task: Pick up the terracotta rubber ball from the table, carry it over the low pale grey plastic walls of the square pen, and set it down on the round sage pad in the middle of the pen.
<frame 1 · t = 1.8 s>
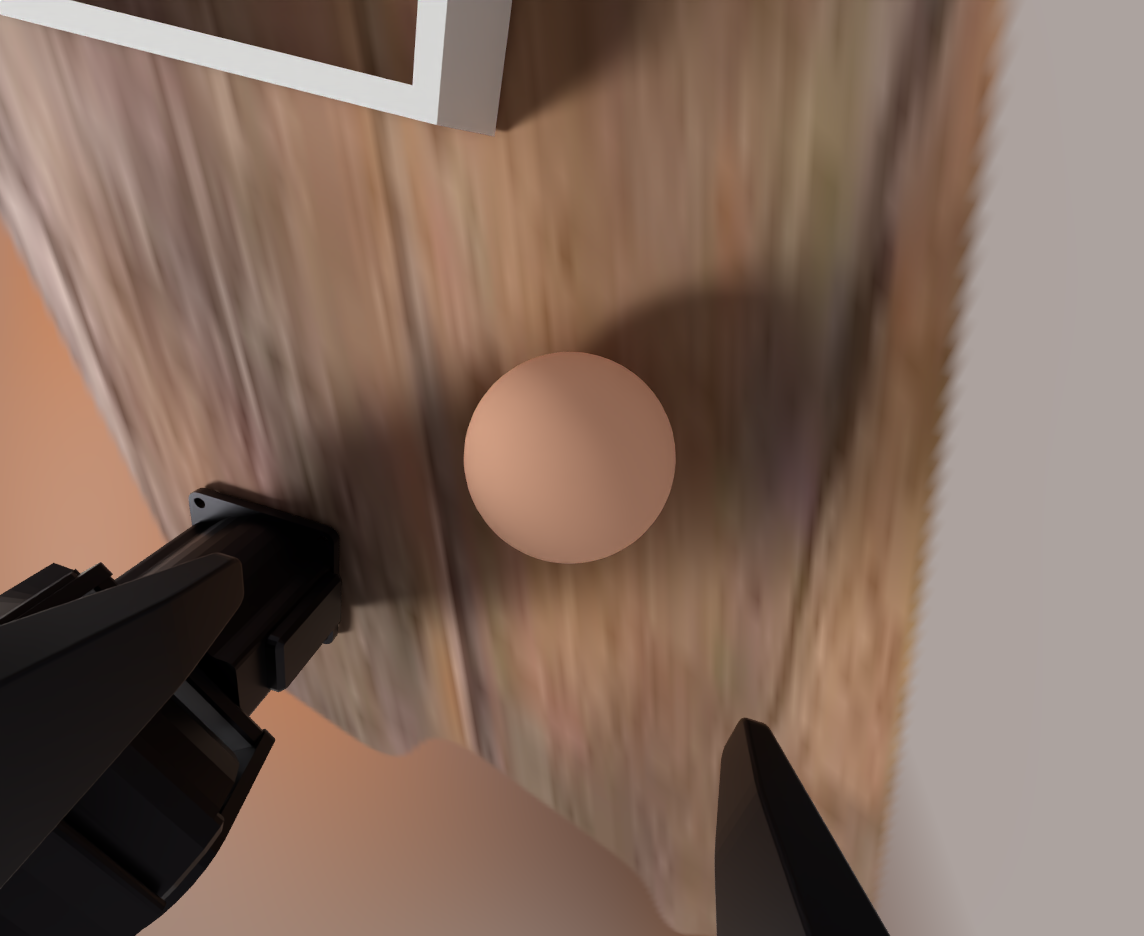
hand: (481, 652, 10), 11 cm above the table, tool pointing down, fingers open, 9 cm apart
ball: (587, 418, 19), on the table
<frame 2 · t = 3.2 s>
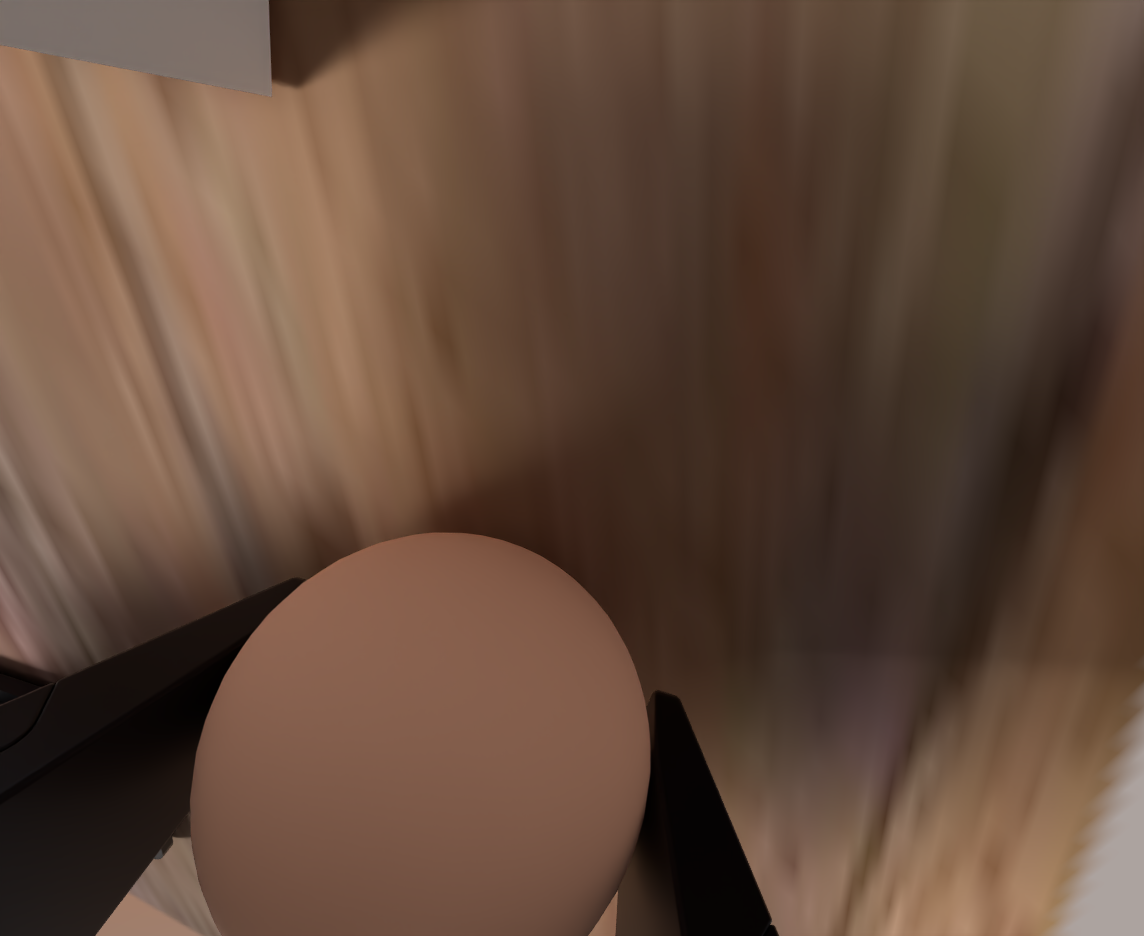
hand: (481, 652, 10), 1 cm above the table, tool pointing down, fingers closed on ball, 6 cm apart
ball: (501, 604, 11), on the table, touching gripper
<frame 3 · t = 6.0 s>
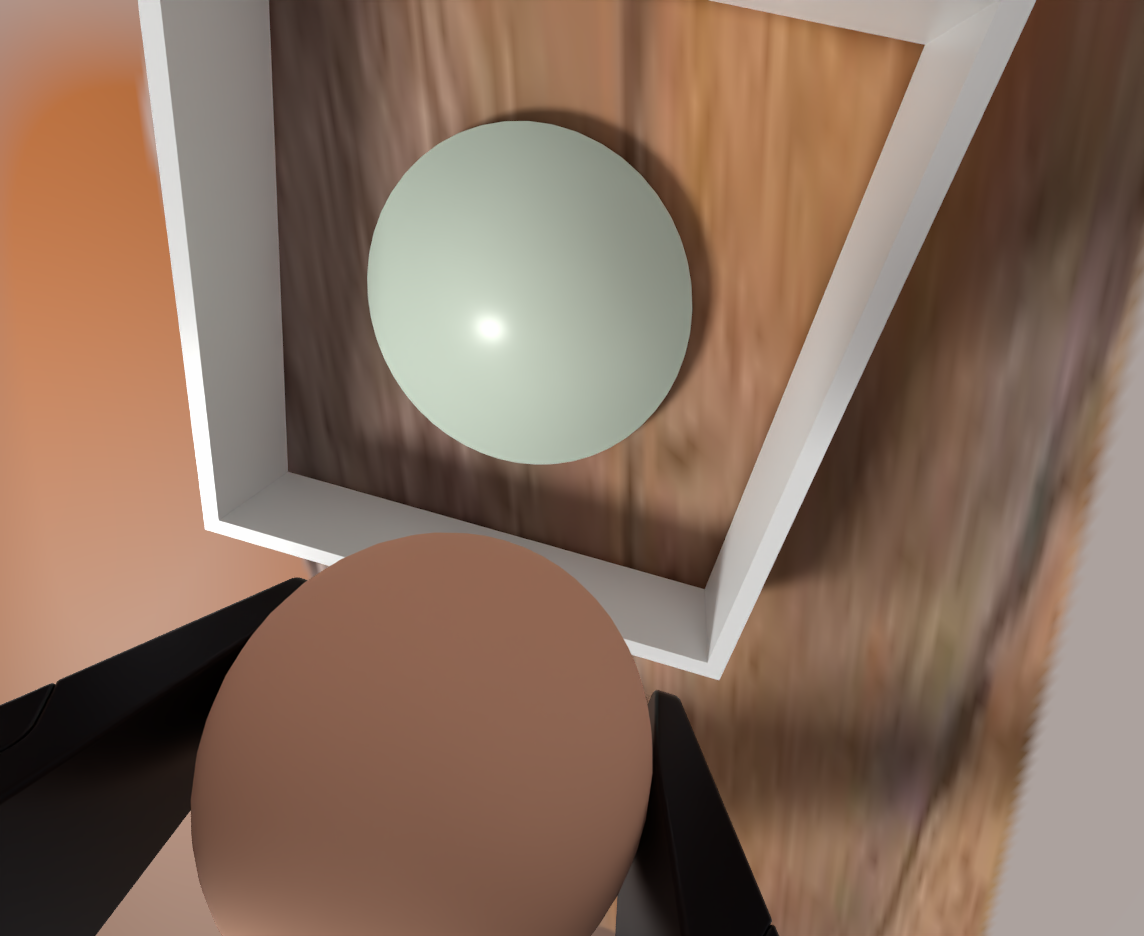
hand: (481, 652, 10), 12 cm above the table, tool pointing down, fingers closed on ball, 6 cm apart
walled pen: (525, 312, 19), on the table
ball: (503, 604, 11), point 11 cm above the table, touching gripper
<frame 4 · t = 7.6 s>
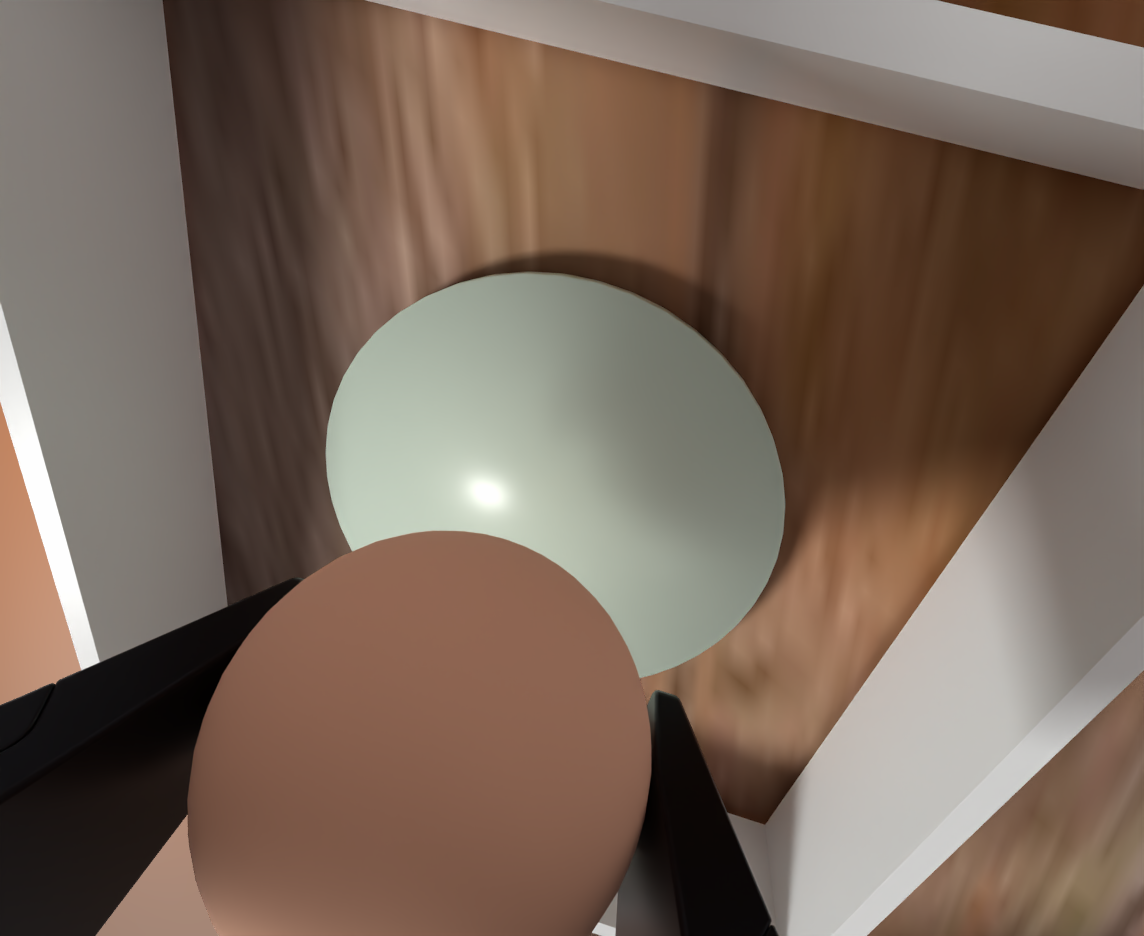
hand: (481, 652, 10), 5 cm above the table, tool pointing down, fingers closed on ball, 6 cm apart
walled pen: (544, 507, 14), on the table
ball: (502, 603, 11), point 4 cm above the table, touching gripper
when the fingers open (2 cm above the table, at t = 9.0 s): ball stays where it is, resting on walled pen.
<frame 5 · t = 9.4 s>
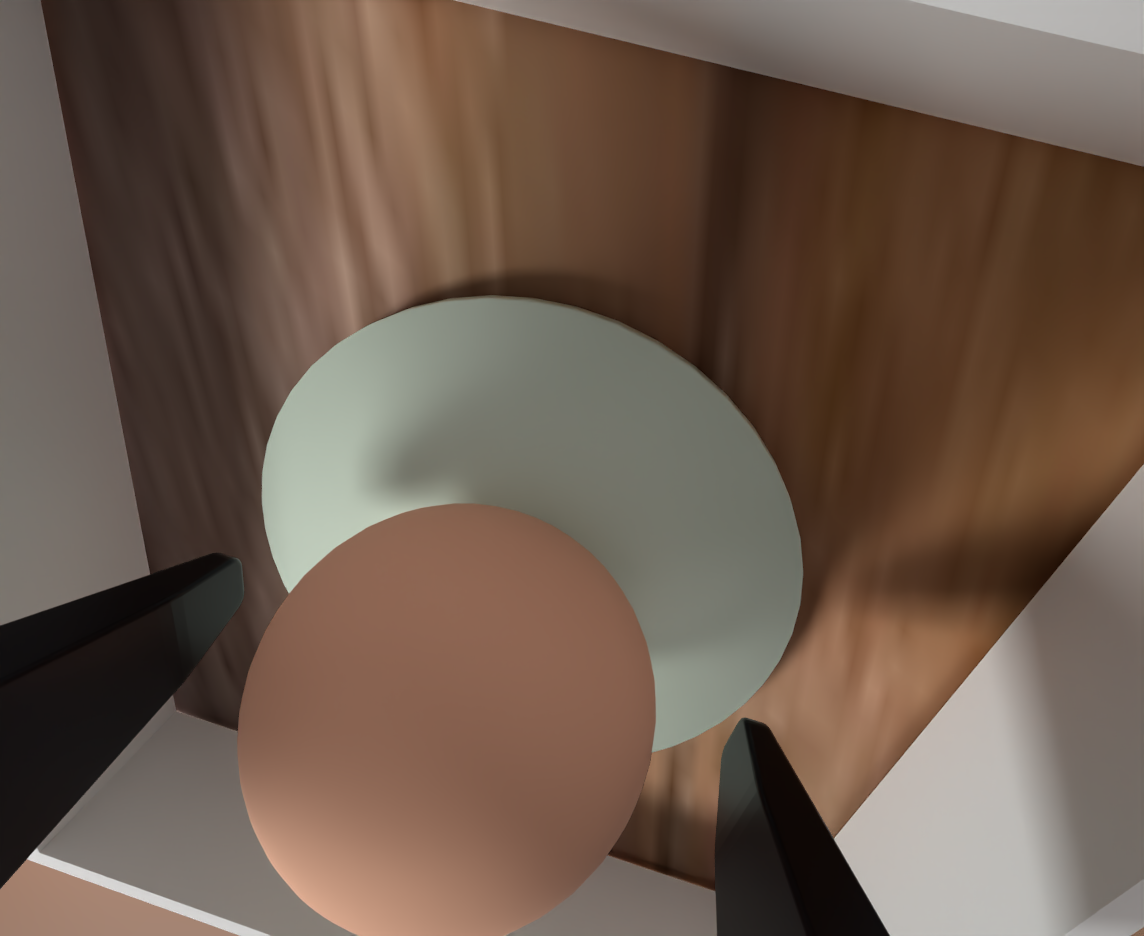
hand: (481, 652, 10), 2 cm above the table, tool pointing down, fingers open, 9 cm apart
walled pen: (518, 566, 12), on the table
ball: (514, 577, 11), resting on walled pen
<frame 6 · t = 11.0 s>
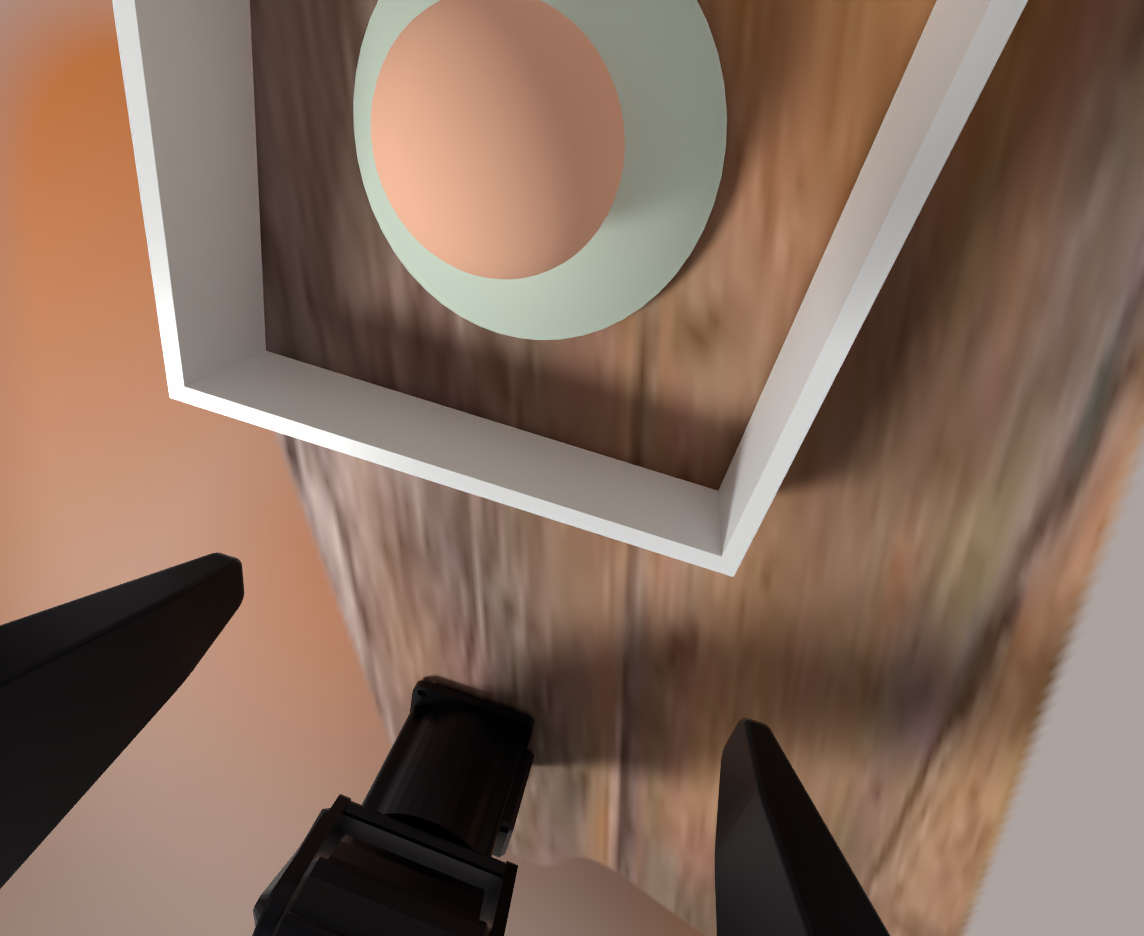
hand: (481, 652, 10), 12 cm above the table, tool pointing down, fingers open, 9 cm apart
walled pen: (533, 152, 17), on the table
ball: (531, 151, 16), resting on walled pen
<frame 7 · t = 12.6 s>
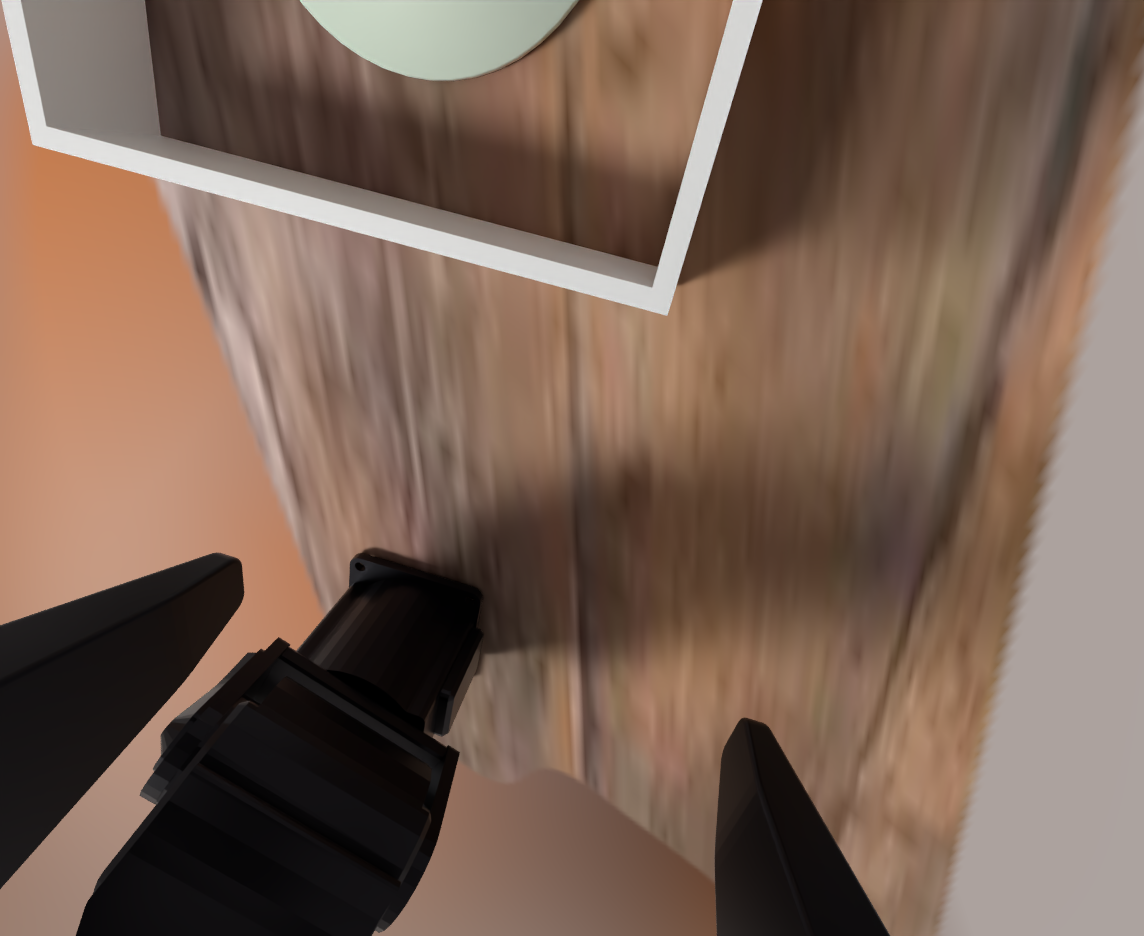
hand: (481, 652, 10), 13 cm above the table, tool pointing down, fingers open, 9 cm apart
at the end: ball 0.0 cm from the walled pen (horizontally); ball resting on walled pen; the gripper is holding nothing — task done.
